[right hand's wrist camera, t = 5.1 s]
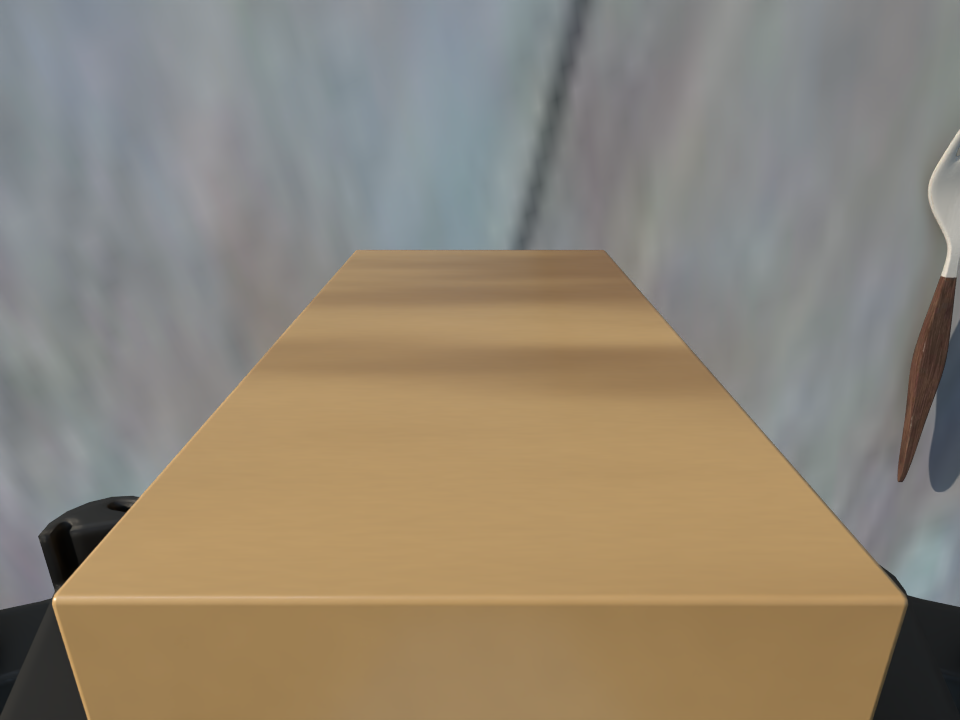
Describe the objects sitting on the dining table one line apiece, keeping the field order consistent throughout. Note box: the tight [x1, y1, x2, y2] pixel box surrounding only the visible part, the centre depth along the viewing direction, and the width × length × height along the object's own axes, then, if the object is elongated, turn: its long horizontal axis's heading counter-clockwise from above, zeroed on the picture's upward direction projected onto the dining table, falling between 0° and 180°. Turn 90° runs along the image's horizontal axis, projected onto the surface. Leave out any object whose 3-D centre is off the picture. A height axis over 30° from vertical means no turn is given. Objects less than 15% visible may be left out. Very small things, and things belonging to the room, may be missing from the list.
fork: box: [898, 130, 960, 482], centre depth 24 cm, size 3×16×2 cm, turn 2°
